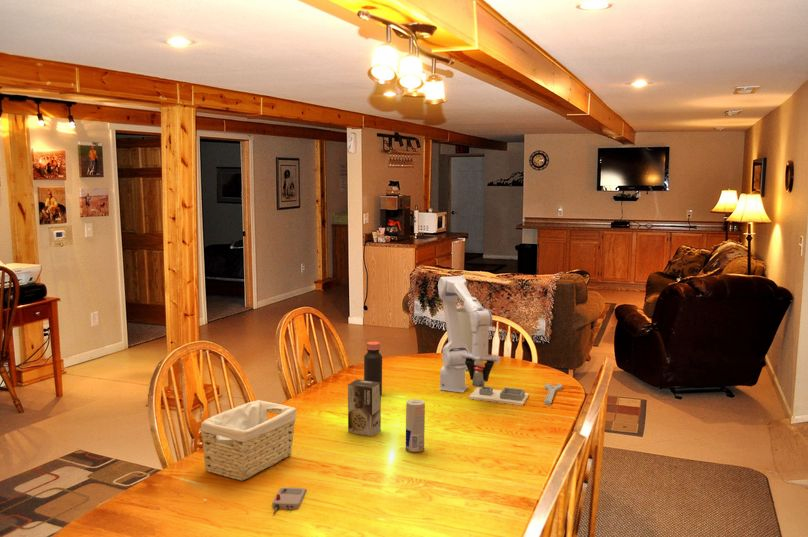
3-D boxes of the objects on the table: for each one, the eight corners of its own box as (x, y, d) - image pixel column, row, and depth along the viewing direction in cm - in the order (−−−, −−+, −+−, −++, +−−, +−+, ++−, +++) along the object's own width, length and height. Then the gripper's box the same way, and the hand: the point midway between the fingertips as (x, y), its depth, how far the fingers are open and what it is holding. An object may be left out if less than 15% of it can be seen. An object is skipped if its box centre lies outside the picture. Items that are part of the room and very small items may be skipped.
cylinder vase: (451, 369, 295) (453, 312, 292) (454, 362, 307) (455, 307, 304) (481, 371, 293) (482, 313, 290) (482, 363, 305) (484, 308, 302)
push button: (469, 385, 248) (471, 366, 248) (473, 382, 253) (474, 363, 252) (483, 387, 246) (484, 368, 246) (486, 384, 251) (488, 365, 250)
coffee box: (381, 430, 223) (381, 382, 221) (372, 437, 217) (372, 387, 215) (356, 426, 226) (357, 378, 224) (347, 432, 221) (347, 383, 219)
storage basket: (256, 444, 210) (255, 397, 208) (299, 454, 203) (299, 406, 201) (198, 473, 189) (197, 421, 187) (244, 486, 182) (243, 432, 180)
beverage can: (426, 447, 209) (427, 399, 207) (420, 454, 204) (421, 405, 202) (409, 444, 211) (409, 397, 209) (403, 451, 206) (403, 403, 204)
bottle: (385, 395, 258) (385, 343, 256) (369, 398, 255) (370, 346, 252) (375, 391, 264) (376, 340, 261) (360, 394, 260) (360, 342, 258)
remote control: (308, 489, 181) (308, 478, 181) (295, 517, 166) (295, 506, 165) (283, 488, 181) (283, 477, 181) (268, 516, 166) (267, 504, 166)
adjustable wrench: (550, 407, 250) (551, 402, 249) (533, 404, 252) (533, 400, 252) (563, 388, 272) (563, 383, 272) (547, 385, 275) (547, 381, 275)
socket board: (469, 399, 256) (469, 391, 255) (476, 390, 267) (477, 382, 267) (522, 405, 249) (523, 397, 249) (528, 396, 260) (528, 388, 260)
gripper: (457, 343, 247) (456, 380, 249) (497, 347, 242) (496, 385, 243) (463, 339, 253) (462, 375, 255) (502, 343, 248) (500, 379, 250)
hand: (479, 379), depth 250 cm, fingers closed on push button, 5 cm apart
